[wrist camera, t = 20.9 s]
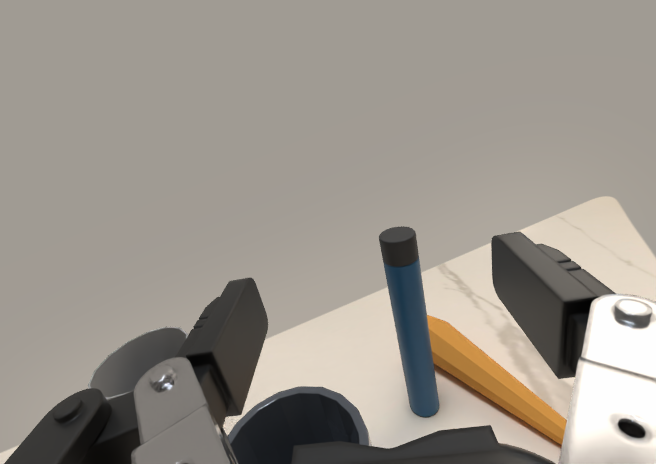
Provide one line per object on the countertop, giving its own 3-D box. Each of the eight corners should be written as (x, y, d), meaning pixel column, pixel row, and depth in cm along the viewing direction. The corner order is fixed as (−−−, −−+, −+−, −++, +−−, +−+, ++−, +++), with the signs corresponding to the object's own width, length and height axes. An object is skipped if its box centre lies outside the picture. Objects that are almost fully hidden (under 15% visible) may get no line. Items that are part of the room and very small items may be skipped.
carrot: (413, 352, 37) (398, 333, 35) (438, 322, 38) (426, 301, 36) (637, 538, 21) (642, 528, 19) (672, 480, 22) (681, 463, 20)
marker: (412, 418, 29) (380, 245, 23) (407, 394, 32) (377, 230, 25) (442, 415, 29) (418, 238, 22) (435, 390, 31) (411, 223, 25)
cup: (213, 384, 39) (180, 315, 35) (235, 434, 32) (196, 356, 28) (137, 430, 35) (90, 359, 31) (142, 498, 28) (84, 418, 25)
